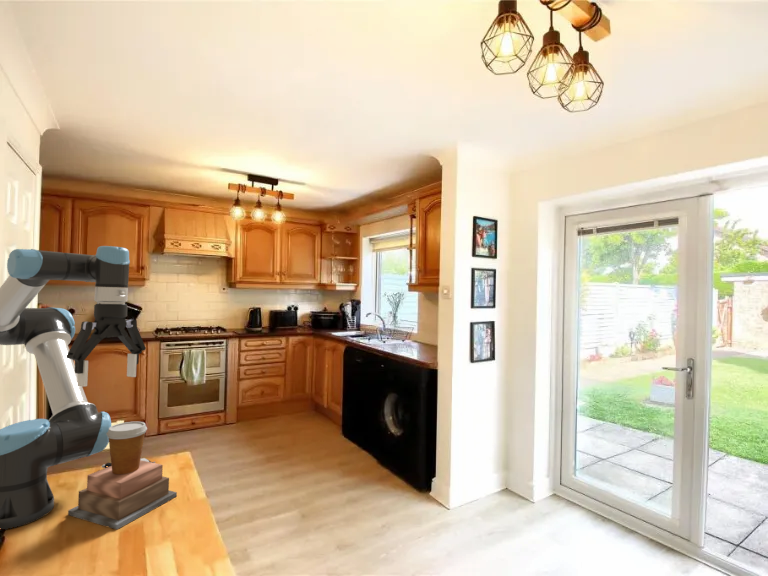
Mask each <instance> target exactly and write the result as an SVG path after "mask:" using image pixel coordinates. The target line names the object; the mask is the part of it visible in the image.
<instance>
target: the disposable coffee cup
mask: <svg viewBox="0 0 768 576" xmlns="http://www.w3.org/2000/svg"><path fill="white" fill-rule="evenodd" d="M147 431H148V427H147V425H146V423H145V422H144V421H126V422H121V423H116V424H113V425H111V427H110V428H109V430H108V432H107V436H108V438H109V443H108V445H109V453H110V463H111V465H112V473H113V474H127V473H131V472H134V471H136V470H137V469H139V465H140V459H141V458H142V452H143V447H144V446H143V445H144V441H145V435H146V432H147Z"/></svg>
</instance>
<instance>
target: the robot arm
mask: <svg viewBox="0 0 768 576" xmlns="http://www.w3.org/2000/svg"><path fill="white" fill-rule="evenodd" d="M130 263H131V261H130V251H129V249H127V248H126V247H122V246H121V247H120V246H114V245H113V246H112V245H110V246H109V245H101V246H98V247H97V249H96V253H95V254H92V255H91V254H85V253H84V254H83V253H73V252H72V253H71V252H60V251H51V250H49V251H48V250H40V249H34V248H31V249H27V248H25V249H23V248H16V249H13V250H11V252H9V254H8V258H7V262H6V268H7V273H8V275H9V276H8V277H7V278H6V280H5V281H4V282H3V283H2V285H1V286H0V346H18V345H24V348H25V350H26V352H28V353H29V354H32V355H34V359H35V362H36V365H37V367H38V371H39V375H40V377H41V380H42V384H43V387H44V391H45V394H46V397H47V401H48V403H49V406H50V409H51V413H52V415H51V417H50V418H49V419H46V418H34V419H27V420H23V421H18V422H16V423H12V424H9V425H7V426H5V427H2V428H0V528H1V529H5V530H8V528H10V529H13V528H12V527H14V528H18V527H21V526H24V525H27V524H30V523H33V522H35V521H37V520H39V519H41V518H43V517H44V516H47V514H49V513H51V511H52V510H53V509H54V507H55V506H54V505H55V496H54V494H53V491H52V489H51V487H50V484H49V481H48V468H50V467H53V466H57V465H61V464H65V463H67V462H71V461H76V460H80V459H83V458H87V457H90V456H92V455H95V454H97V453H100V452H102V451H104V450H105V449H106V448H107V446H108V445H109V438H108V436H107V432H108V430H109V428H110V427H111V426H112V419H111V416H110V414H109V413H108V412H105V411H98V407H97V406H96V405H95V404H94V403H92V402H89V401H88V398H87V396H86V393H85V390H84V388H83V387H88V381H89V380H88V378H89V377H88V376H89V375H88V373H89V360H86V359H87V357H89V355H90V354H91V353H92V352H93V350H94V349H95V348H96V347H97V345H98V344H99V343H100V342H101V341H102V340H103V339H105V338H109V339H110V338H118V339H119V340H120V341H121V342H122V344H123V345H124V347H126V349H127V350H128V351H129V352H130V353H127V358H126V359H127V360H126V364H127V365H126V377H129V378H136V377H137V365H138V364H139V361H140V360H139V357H140V356H139V354H142V353H143V351H146V348H147V347H146V345H145V342H144V341H143V338H142V336H141V334H140V332H139V329H138V324H137V320H136V319H126V317H127V316H128V305H127V303H126V302H128V299H129V297H128V295H129V279H130V278H129V277H130V274H129V273H130ZM49 281H70V282H71V281H72V282H73V281H74V282H75V281H76V282H84V283H95V284H94V300H93V301H94V302H96V303H95V304H94V306H93V307H94V308H93V317H94V322H92V321H82V322H81V325H80V330H79V332H78V334H77V335H76V338H75V339H74V342H73V343H72V345H71V347H69V344H70V343H71V341H72V339H73V338H74V337H75V333H76V326H75V325H76V324H75V323H76V322H75V320H74V317H73V314H72V313H71V312H70V311H69V310H67V309H65V308H61V307H52V306H51V307H50V306H49V307H48V306H47V307H41V308H40V307H39V308H38V307H28V306H29V305H30V304H31V302H32V301H33V300H34V299H35V297H37V295H38V294H39V293H40V292H41V291H42V289H44V287H45V286H46V284H48V283H49ZM125 328H127V330H125ZM93 330H94V331H93ZM92 331H93V332H92ZM127 331H128V332H127ZM91 333H92V334H91ZM17 526H18V527H17Z"/></svg>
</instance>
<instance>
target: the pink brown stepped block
mask: <svg viewBox="0 0 768 576" xmlns="http://www.w3.org/2000/svg"><path fill="white" fill-rule="evenodd" d="M152 462H153V461H151V462H147V461H142V460H140V465H139V469H137V470H136V471H134V472H131V473H127V474H113V473H112V466H110V467H107V468H102V469H100V470H97V471H94V472H93V473H90V474H87V478H86V479H87V483H86V488H84V489H82V490H79V491H78V498H77V499H78V501H77V502H78V503H77V504H78V505H77V506H75V507H72V508H70V509H68V510H67V516H71V517H74V518H77V519H80V520H84V521H87V522H90V523H94V524H97V525H100V526H104V527H107V528H110V529H114V530H119V529H121V528H122V527H124V526H126V525H128V524H130V523H131V522H133V521H135V520H137V519H139V518H140V517H142V516H144V515H146V514H148V513H149V512H151V511H153V510H155V509H157V508H159V507H160V506H162V505H164V504H165V503H168V502H169V501H171V500H173V499H174V498H176V497H177V494H178V492H176V491H173V490H170V477H167V476H163V466H164V465H163V464H160V463H156V462H155V463H152Z"/></svg>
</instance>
